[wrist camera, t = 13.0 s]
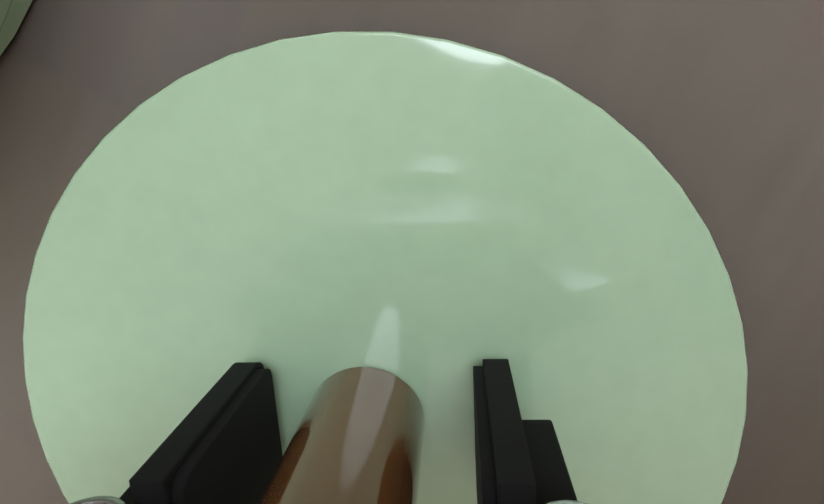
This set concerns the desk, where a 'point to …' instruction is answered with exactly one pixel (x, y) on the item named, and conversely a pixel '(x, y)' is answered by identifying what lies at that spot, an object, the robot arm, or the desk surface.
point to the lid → (385, 279)
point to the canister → (11, 19)
